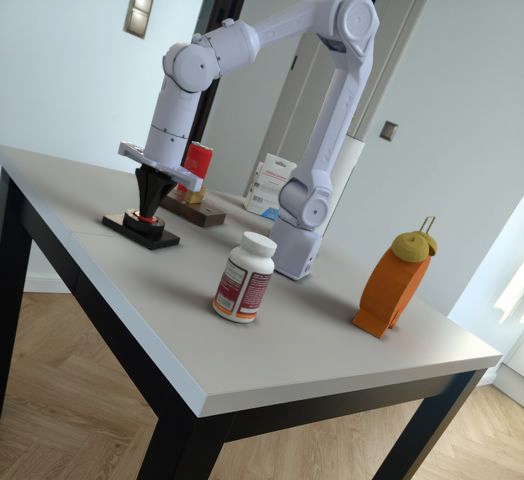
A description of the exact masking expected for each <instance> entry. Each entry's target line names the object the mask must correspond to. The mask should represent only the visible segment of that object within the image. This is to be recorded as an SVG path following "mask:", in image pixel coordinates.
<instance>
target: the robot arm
mask: <svg viewBox="0 0 524 480" xmlns="http://www.w3.org/2000/svg"><path fill="white" fill-rule="evenodd" d="M221 24H222V26H220V27H218V28H216V29H213V30H211V31H209V32H207V33H204V34H202V35H201V33H199V32H197V33H195V34H192V35H191V38H192V43H189V42H185V41H179V42H176V43H174V44H172V45H171V46H170V47H168V50H167V51H166V52H165V55H162V58H161V59H162V60H161V65H162V67H161V68H162V71H163V73H164V76H163V80H162V83H161V86H160V87H161V88H160V91H159V92H158V96H157V100H156V104H155V107H154V110H153V115H152V119H151V123H150V125H149V126H150V127H149V131H148V135H147V138H146V142H145V146H144V148H143V147H140V146H137V145H135V144H133V143H131V142H129V141H119V145H118V151H117V155H120V156H122V157H125V158H128V159H130V160H131V161H134V162H136V163H138V164H140V165H141V166H139V167H135V170H134V174H135V175H134V176H135V178H136V182H137V187H138V196H139V209H138V210H139V215H140V216H142V217H144V218H153V216H154V215H155V214H156V212H157V211H158V209H159V207H160V206H161V205H160V204H161V202H162V201H163V200H164V198H165V197H166V196H167V195H168V194H169V193H170V192H171V191H172V190H175V188H177V187H178V183H180V184H182V185H184V186H186V187H188V189H189V190H191V191H193V192H195V191H196V192H198V191H200V189H201V186H202V183H203V179H201V178H199V177H198V176H196V175H194V174H193V173H191V172H189V171H188V170H186V169H185V168H183V167H184V166H181V163H182V160H183V157H184V153H185V150H186V147H187V143H188V140H189V136H190V133H191V131H192V130H191V129H192V126H193V123H194V120H195V116H196V113H197V109H198V105H199V102H200V98H201V95H202V92H204V91H206V90H208V88H209V87H210V86H211V84H212V83H213V80H217V79H220V78H222V77H225V76H226V75H229V74H231V73H233V72H237V71H238V70H240V69H243V68H245V67H247V66H250V65H251V64H254V62H255V61H256V58H257V55H258V53H259V51H260V50H262V49H265V48H268V47H271V46H273V45H276V44H279V43H281V42H285V41H287V40H289V39H292V38H295V37H297V36H300V35H303V34H305V33H311V34H312V33H313V34H315V36H316V37H317V38H318V39H319V41H320V42H321V43H322V44H323V45H324V47H325V48H326V49H327V51H328V52H329V55H330V57H331V59H332V62H333V65H334V68H335V70H334V73H333V75H332V78H331V80H330V84H329V86H328V88H327V92H326V93H325V97H324V100H323V103H322V105H321V107H320V111H319V114H318V116H317V119H316V122H315V125H314V127H313V130H312V133H311V136H310V138H309V140H308V144H307V146H306V149H305V151H304V154H303V157H302V160H301V163H300V164H298V165H297V166H296V168H294V169H293V170H292V171H291V173H290V176H289V178H288V180H287V181H286V182H285V183H284V184H283V185H282V187H281V188H280V190H279V193H278V203H279V205H280V208H279V210H278V215H277V217H276V220H274V223H273V225H272V227H271V230H270V232H269V234H268V237H267V238H269V239H271V240H272V241H273V242H275V243H276V245H277V248H276V250H275V253H274V255H273V256H271V259H272V261H273V262H274V270H275V271H276V272H278V273H280V274H281V275H284V276H285V277H287V278H290V279H292V280H294V281H298V280H300V279H302V278H304V277H306V276H308V275H309V274H310V270H311V268H312V266H313V263H314V261H315V259H316V257H317V255H318V252H319V250H320V248H321V246H322V243H323V238H324V236H323V237H322V235H320V234H319V233H317V232H315V229H316V228H317V227H319V226H320V225H322V224H323V223H324V222H325V220H326V219H327V217H328V215H329V212H330V199H331V196H332V193H333V188H332V184H331V180H330V173H331V171H332V168H333V166H334V163H335V161H336V158H337V156H338V153H339V151H340V148H341V145H342V143H343V140H344V138H345V135H346V134H348V133H347V132H348V130H349V128H350V125H351V124H352V123H351V122H352V120H353V118H354V115H355V113H356V110H357V108H358V105H359V103H360V99H361V97H362V95H363V93H364V90H365V88H366V86H367V82H368V80H369V77H370V74H371V72H372V69H373V64H374V46H375V45H374V44H375V37H376V34H377V31H378V29H379V27H380V24H381V23H380V19H379V15H378V14H377V10H376V8H375V5H374V2H373V1H372V0H301V1H298V2H296V3H294V4H293V5H292V4H291V5H290V6H288V7H287V8H286V7H285V8H284V9H283V10H280V11H278V12H276V13H274V14H272V15H269V16H267V17H266V18H263V19H261V20H259V21H257V22H255V23H254V24H251V25H249V24H247V23H246V22H245V21H243V20H241V19H237V20H234V19H233V18H226V19H224V20H222V21H221ZM203 184H204V183H203Z"/></svg>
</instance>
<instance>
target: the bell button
mask: <svg viewBox="0 0 524 480" xmlns="http://www.w3.org/2000/svg"><path fill="white" fill-rule="evenodd" d="M134 216H135V217H137V218H139V219H141V220H144V221H147V222H151V223H156V222H157V219H156V218H155V217H154V216H153V218H144V217H142V216H140V215H139V212H135V215H134Z"/></svg>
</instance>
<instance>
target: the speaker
mask: <svg viewBox="0 0 524 480" xmlns="http://www.w3.org/2000/svg"><path fill="white" fill-rule="evenodd" d="M365 146H366V142H365V141H364V140H361V139H359V138H357V137H355V136H353V135H351V134H348V133H346V135H345V138H344V140H343V143H342V145H341V148H340V151H339V153H338V156H337V158H336V161H335V163H334V166H333V168H332V171H331V173H330V180H331V184H332V188H333V193H332V196H331V199H330V212H329V215H328V217H327V219H326V220H325V222H324V223H323V224H322V225H320V226H319V227H317V228H316V229H315V232H317V233H319V234H320V235H322V237H323V238H324V237H325V234H326V231H327V230H328V227H329V225H330V223H331V222H332V221H331V220H332V219H333V217H334V214H335V211H336V209H337V207H338V205H339V203H340V201H341V198H342V196H343V194H344V192H345V189H346V187H347V185H348V183H349V180H350V179H351V176H352V174H353V172H354V170H355V167H356V165H357V164H358V163H357V162H358V161H359V158H360V156H361V155H362V151H363V149H364V147H365Z"/></svg>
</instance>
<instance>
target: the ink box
mask: <svg viewBox="0 0 524 480" xmlns="http://www.w3.org/2000/svg"><path fill="white" fill-rule="evenodd" d="M276 163H282V165H284V166H281V165H279V164H276ZM297 166H298V165H297V163H295V162H292V161H289V160H287V159H285V158H282V157H279V156H277V155H274V154H272V153H269V152H267V153H266V155H265V158H264V161H263V162H262V161H259V162H258V165H257V167H256V171H255V173H254V176H253V179H252V182H251V184H250V187H249V190H248V193H247V196H246V198H245V202H244V203H243V206H244V209H245V210H246V211H247V212H249V213H252V214H256V215H258V216H261V217H265V218H268V219H270V220H273V221H275V220H276V217H277V215H278V210H279V208H280V205H279V203H278V193H279V190H280V188H281V187H282V185H283V184H284V183H285V182H286V181H287V180H288V178H289V176H290V173H291V171H292V170H293V169H294V168H296V167H297Z"/></svg>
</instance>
